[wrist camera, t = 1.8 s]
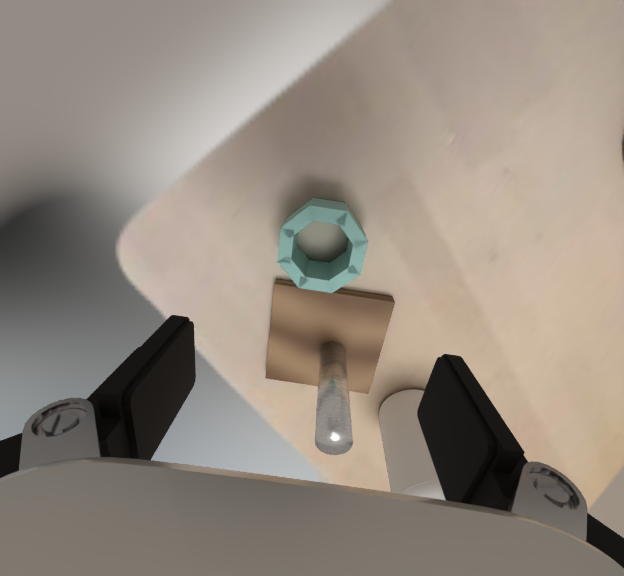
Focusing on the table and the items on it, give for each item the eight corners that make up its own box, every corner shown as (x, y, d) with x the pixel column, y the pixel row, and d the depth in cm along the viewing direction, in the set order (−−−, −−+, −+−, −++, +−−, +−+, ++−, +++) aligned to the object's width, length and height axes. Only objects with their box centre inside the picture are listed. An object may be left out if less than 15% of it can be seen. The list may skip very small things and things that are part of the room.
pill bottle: (365, 403, 36) (385, 552, 23) (426, 377, 34) (489, 524, 21) (395, 442, 39) (430, 598, 25) (454, 420, 37) (526, 577, 23)
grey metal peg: (322, 339, 31) (317, 426, 21) (348, 343, 31) (356, 431, 21) (318, 360, 33) (312, 451, 23) (343, 364, 33) (348, 457, 23)
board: (276, 279, 30) (274, 283, 29) (392, 296, 30) (395, 302, 29) (267, 371, 35) (265, 378, 34) (367, 386, 35) (368, 393, 34)
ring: (290, 194, 27) (283, 201, 23) (367, 205, 27) (373, 215, 23) (282, 266, 30) (275, 284, 25) (352, 276, 30) (355, 296, 26)
